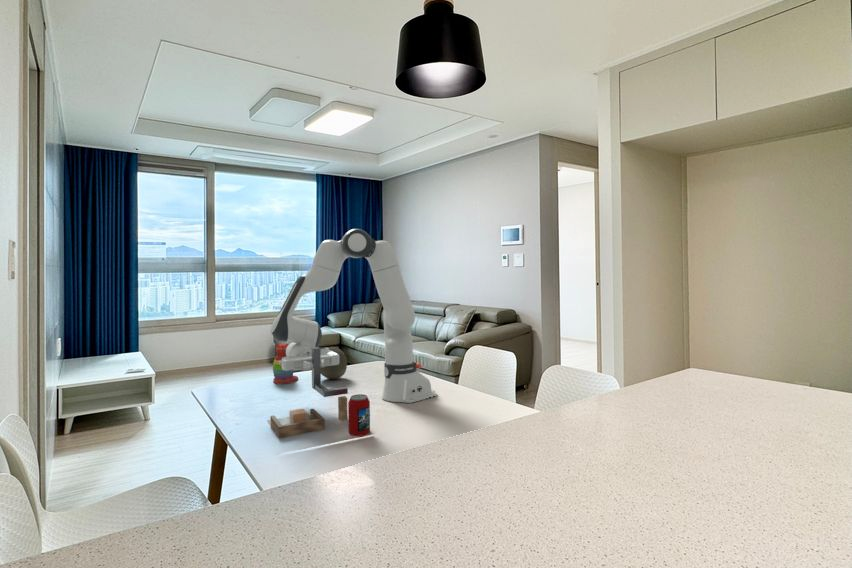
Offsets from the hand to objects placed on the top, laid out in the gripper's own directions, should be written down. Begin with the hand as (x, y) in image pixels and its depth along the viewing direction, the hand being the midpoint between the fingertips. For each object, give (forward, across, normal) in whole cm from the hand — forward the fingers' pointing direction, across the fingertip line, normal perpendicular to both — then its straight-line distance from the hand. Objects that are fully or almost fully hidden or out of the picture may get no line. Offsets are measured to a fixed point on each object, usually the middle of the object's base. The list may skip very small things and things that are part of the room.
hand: (316, 365), depth 159 cm
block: (+3, -7, +19) cm, 20 cm away
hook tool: (+4, +3, +8) cm, 10 cm away
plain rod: (+4, +8, +19) cm, 21 cm away
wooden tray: (+2, -8, +19) cm, 21 cm away
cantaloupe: (-52, +23, +20) cm, 60 cm away
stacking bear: (-60, +3, +20) cm, 63 cm away
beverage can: (+19, +8, +19) cm, 28 cm away
